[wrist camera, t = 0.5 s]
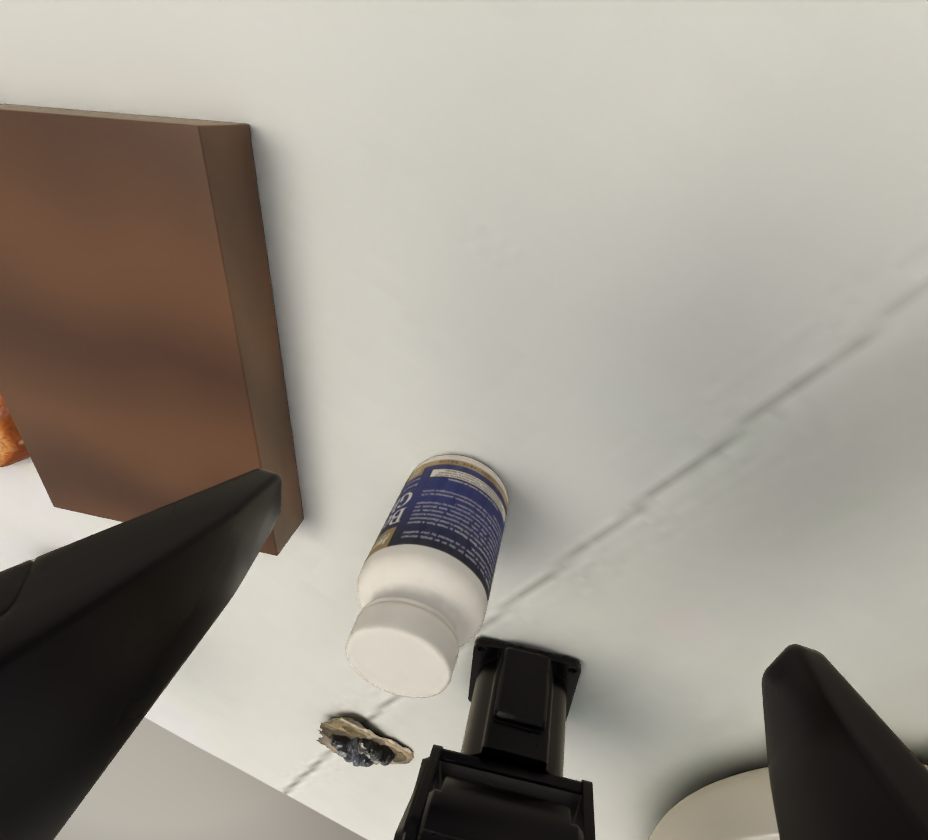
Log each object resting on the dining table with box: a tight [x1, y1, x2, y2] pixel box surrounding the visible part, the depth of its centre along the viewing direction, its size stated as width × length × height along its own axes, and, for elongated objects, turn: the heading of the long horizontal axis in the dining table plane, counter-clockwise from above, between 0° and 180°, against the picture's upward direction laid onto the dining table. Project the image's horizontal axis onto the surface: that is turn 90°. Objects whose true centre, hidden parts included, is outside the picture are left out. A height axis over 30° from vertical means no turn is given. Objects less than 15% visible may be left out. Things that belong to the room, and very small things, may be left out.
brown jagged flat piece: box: [316, 717, 413, 767], centre depth 41 cm, size 7×8×2 cm
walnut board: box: [0, 104, 304, 556], centre depth 24 cm, size 20×14×3 cm
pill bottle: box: [346, 455, 509, 698], centre depth 22 cm, size 5×5×10 cm
